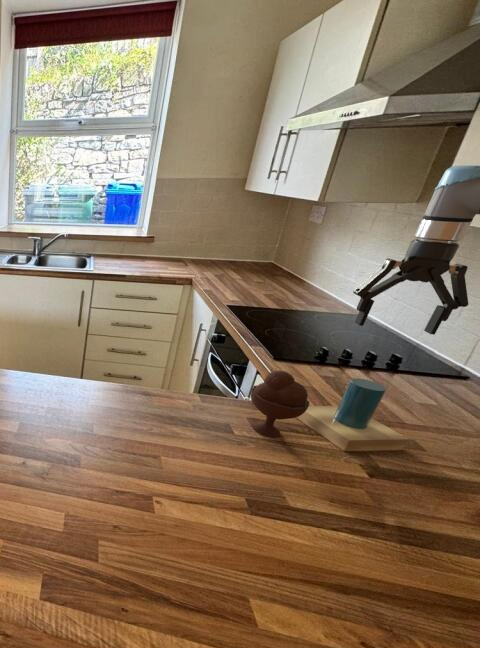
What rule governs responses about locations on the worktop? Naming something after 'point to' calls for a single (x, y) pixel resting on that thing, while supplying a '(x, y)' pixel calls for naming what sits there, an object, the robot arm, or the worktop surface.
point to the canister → (359, 403)
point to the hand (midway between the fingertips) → (393, 328)
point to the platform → (351, 431)
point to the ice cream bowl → (278, 401)
